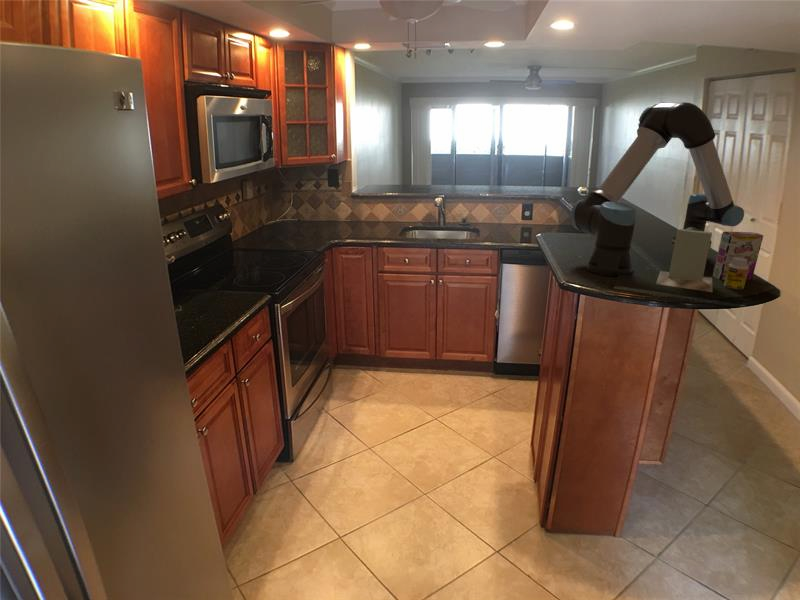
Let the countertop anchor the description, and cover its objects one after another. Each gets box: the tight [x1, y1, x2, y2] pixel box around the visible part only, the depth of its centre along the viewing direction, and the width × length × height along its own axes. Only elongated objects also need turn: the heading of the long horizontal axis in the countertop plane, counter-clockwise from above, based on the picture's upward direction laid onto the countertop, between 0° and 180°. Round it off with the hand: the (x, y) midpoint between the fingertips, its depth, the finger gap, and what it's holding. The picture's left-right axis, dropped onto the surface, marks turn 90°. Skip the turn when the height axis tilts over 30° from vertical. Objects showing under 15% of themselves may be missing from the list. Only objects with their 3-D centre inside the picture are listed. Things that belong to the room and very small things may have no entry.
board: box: [655, 270, 714, 293], centre depth 177 cm, size 16×18×1 cm
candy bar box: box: [712, 231, 764, 281], centre depth 180 cm, size 11×5×16 cm, turn 92°
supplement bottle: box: [723, 258, 749, 291], centre depth 170 cm, size 6×6×10 cm
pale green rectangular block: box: [668, 228, 713, 282], centre depth 177 cm, size 10×3×16 cm, turn 61°
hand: (690, 251), depth 185 cm, fingers closed
